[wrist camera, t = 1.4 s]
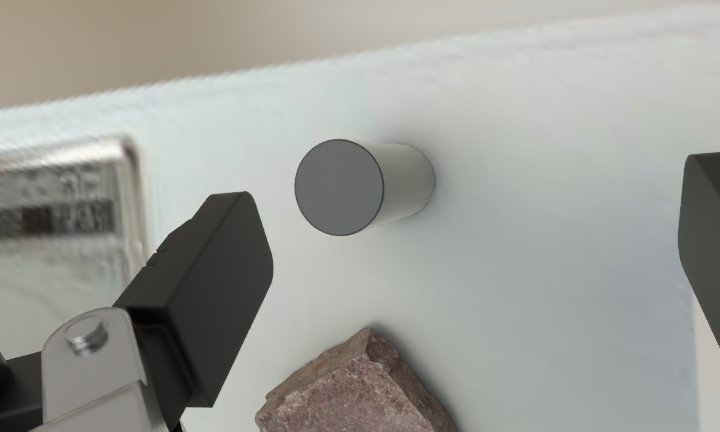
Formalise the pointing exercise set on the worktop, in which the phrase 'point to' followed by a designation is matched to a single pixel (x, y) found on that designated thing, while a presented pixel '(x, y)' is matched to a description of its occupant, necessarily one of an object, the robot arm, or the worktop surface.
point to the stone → (354, 394)
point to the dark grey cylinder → (361, 185)
